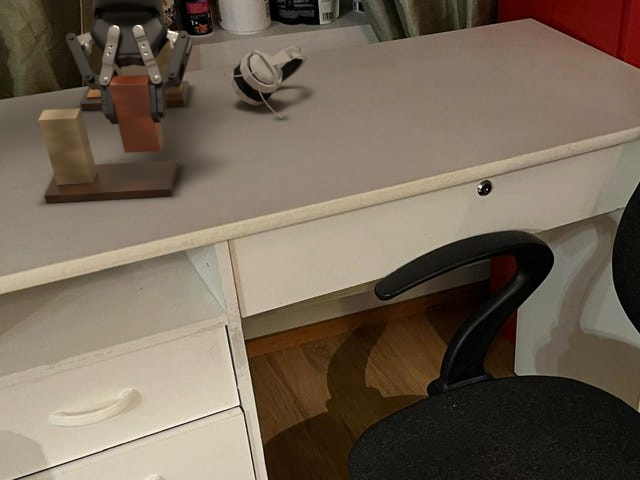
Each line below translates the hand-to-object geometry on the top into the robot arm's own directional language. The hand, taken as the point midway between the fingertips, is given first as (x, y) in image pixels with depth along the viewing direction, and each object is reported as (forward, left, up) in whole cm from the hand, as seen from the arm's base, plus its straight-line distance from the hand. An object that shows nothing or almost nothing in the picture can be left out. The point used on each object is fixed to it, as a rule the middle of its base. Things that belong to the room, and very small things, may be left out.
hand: (135, 120), depth 98 cm
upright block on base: (-5, +31, -9) cm, 33 cm away
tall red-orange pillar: (0, +2, -4) cm, 4 cm away
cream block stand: (-4, +2, -9) cm, 10 cm away
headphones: (+13, +25, -9) cm, 29 cm away
